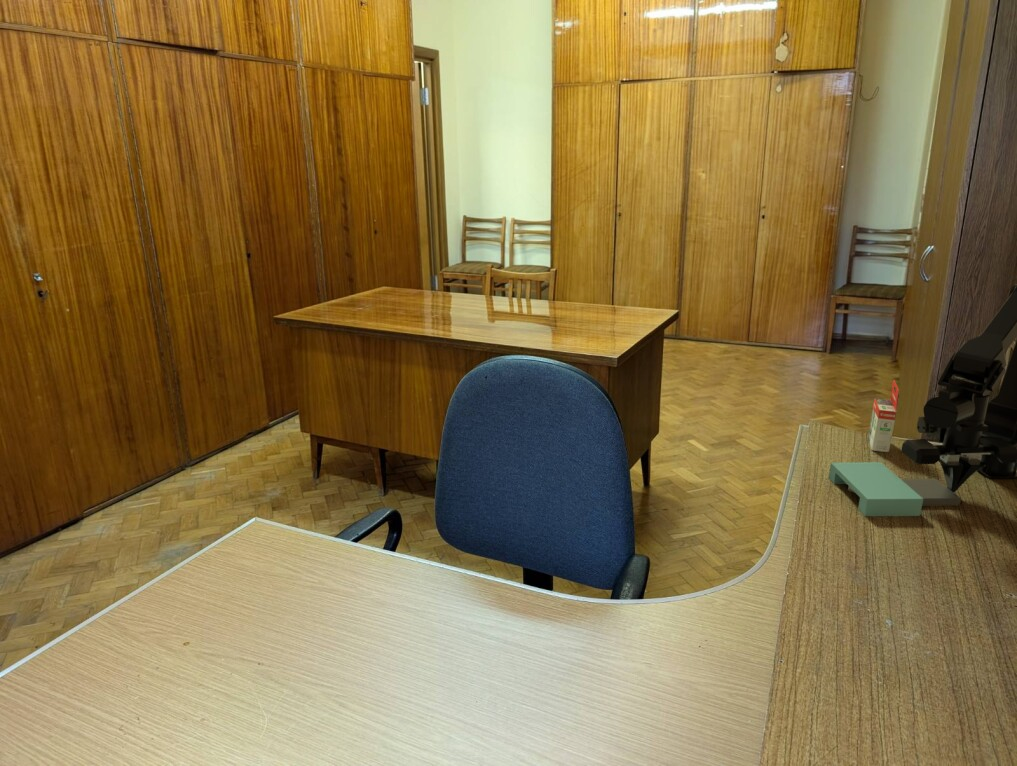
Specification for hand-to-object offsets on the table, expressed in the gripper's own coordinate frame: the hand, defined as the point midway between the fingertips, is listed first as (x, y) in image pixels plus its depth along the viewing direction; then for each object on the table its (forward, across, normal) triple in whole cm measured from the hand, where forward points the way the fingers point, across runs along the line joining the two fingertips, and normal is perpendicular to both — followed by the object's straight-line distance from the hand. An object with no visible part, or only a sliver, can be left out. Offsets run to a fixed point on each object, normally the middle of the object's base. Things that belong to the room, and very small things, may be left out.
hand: (951, 491), depth 131 cm
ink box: (+1, +2, -24) cm, 24 cm away
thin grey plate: (+1, +6, 0) cm, 6 cm away
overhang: (+1, +15, 0) cm, 15 cm away
